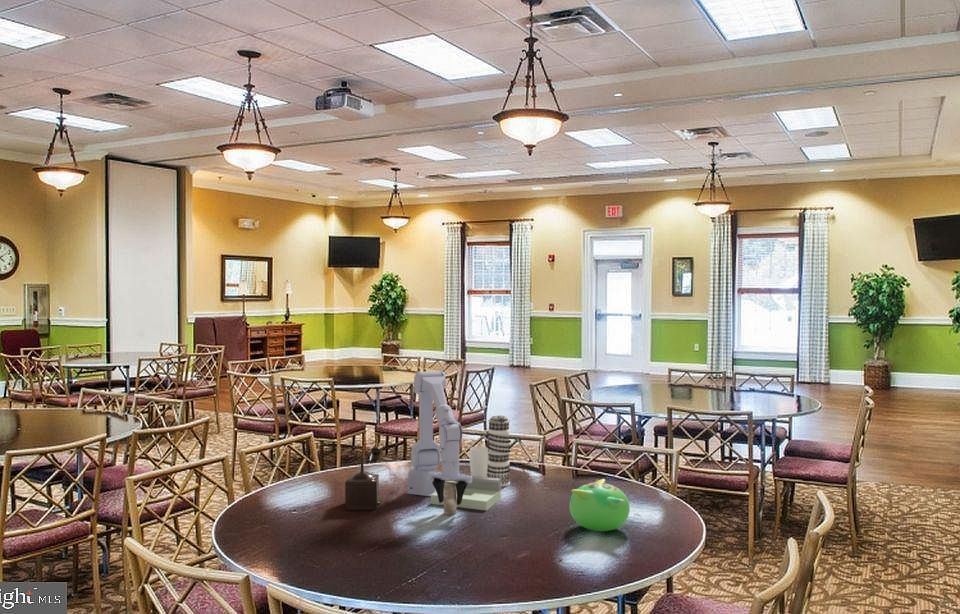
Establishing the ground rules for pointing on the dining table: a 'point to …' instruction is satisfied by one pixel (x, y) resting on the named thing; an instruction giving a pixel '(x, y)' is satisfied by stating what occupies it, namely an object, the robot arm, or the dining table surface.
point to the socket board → (477, 493)
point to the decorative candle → (499, 449)
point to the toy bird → (599, 506)
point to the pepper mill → (363, 487)
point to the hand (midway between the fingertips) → (450, 502)
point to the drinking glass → (479, 461)
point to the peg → (450, 497)
